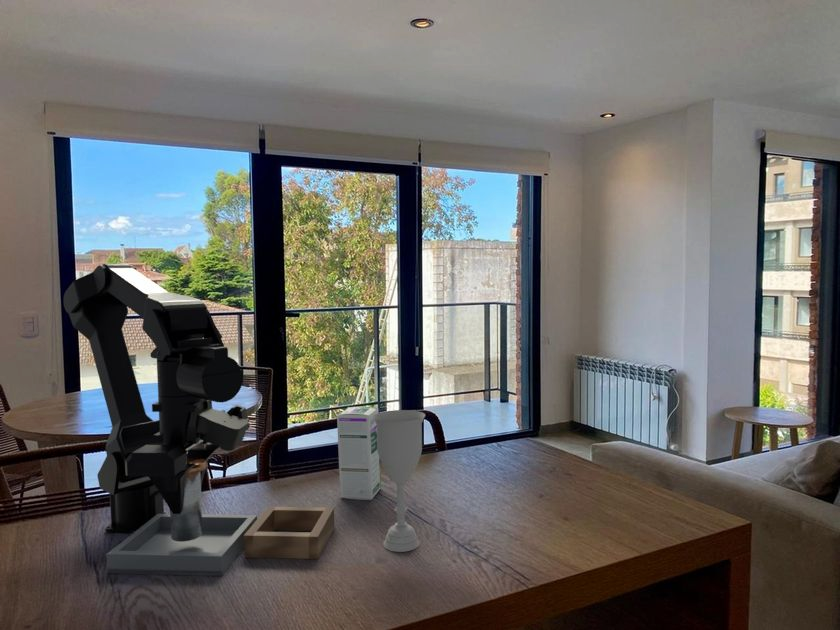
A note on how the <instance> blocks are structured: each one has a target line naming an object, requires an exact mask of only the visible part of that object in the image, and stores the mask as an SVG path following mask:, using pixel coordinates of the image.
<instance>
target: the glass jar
mask: <svg viewBox="0 0 840 630" xmlns="http://www.w3.org/2000/svg"><path fill="white" fill-rule="evenodd" d="M187 463H188V464H195V466H194V467H193V468H192V469H191V470H190V471H189V472H188V473H187V474H186V476H185V486H184V498H183V507H182V512H181V513H180V514H173V513H172V512H171V510H170V509H169V514H170V521H171V539H172V540H174V541H178V542H183V541H190V540H194V539H196V538H198V537H200V536H201V535H202V533H203V532H202V514H203V512H202V511H203V510H202V506H203V505H202V485H201V478H200V471H202V470H204V469H205V468H206V469H207V466H206V460H205V459H204V458H200V457H187ZM206 469H205V470H206Z"/></svg>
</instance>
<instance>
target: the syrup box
mask: <svg viewBox="0 0 840 630" xmlns="http://www.w3.org/2000/svg"><path fill="white" fill-rule="evenodd" d="M377 413H379V408H377V407H371V406H351V407H350V406H347V408H346V409H345V410H343V411H342V412H340V413H339V414H337V415H336V420H337V421H336V423H337V424H336V425H337V448H338V449H337V450H338V451H337V452H338V473H339V496H340V498H341V499H348V500H361V501H362V500H363V501H373V499H374V497H375V496H376V495H377V493H379V491H380V490H381V489H382V475H381V470H382V469H381V461H380V458H379V455H378V452H377V424H376V422H375V420H374V419H373V416H374V415H375V414H377Z"/></svg>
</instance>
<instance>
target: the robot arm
mask: <svg viewBox="0 0 840 630" xmlns="http://www.w3.org/2000/svg"><path fill="white" fill-rule="evenodd" d="M63 308H64V309H65V311H66V313H67V314H68V315H69V318H70V321H71V324H72V326H73V328H74V329H75V330H77V332H79V333H80V334H81V335H82V336H83V337H85V338H86V339H87V340H88V341H89V344H90V348H91V352H92V356H93V360H94V363H95V364H94V365H95V366H96V370H97V374H98V378H99V382H100V385H101V389H102V392H103V396H104V400H105V404H106V407H107V412H108V416H109V419H110V422H111V430H110V433H109V436H108V438H107V441H106V444H105V454H106V456H105V458H104V460H103V463H102V465H101V467H100V469H99V470H98V473H97V475H96V476H97V481H98V485H99V489H100V490H102V491H105V492H106V493H108V494H109V507H110V523H109V524H108V525H107V526H106V527H104V532H106V533H107V532H112V533H113V532H114V533H116V532H117V533H118V532H119V533H134V532H135V531H137V530H138V529H139V528H140V527H142V526H143V525H144V524H145V523H147V522H148V521H149V520H151V519H152V518H153V517H154V516H156V515H157V514H167V512H166V511H165V509H164V506H165V505H164V503H166V505H167V507H168V508H169V511H170V510H171V512H172V513H173V514H180V513H181V512H182V507H183V498H184V486H185V476H186V474H187V473H188V472H189V471H190V470H191V469H192V468H193V467H194V466H195V464H188V463H187V457H200V458H204V459H205V460H206V468H205V469H204V470H202V471H200V478H201V486H202V484H203V480H204V476H205V473H206V469H207V467H208V466H207V465H208V462H209V459H210V458H211V457H212V456H213V455H214V454H215V453H216V452H217V451H218V450H219V449H221V450H224V451H228V452H231V451H234V450H235V449H236V447H238V446H240V445H242V443H243V441H244V437H245V434H246V432H247V431H248V430H249V429H251V428H250V427H251V426H250V424H249V423H250V419H249V418H248V415H247V409H246V407H244V406H242V405H239V404H236V405H234V406H232V407H231V408H229V410H228V411H227V412H226V410H225V409H221V410H217V409H214V408H213V402H215V403H226V402H228V401H231V400H232V399H234V398H235V397H236V395H238V393H239V392H240V390H241V389H242V385H243V381H244V373H243V372H244V371H242V368H241V366H240V364H239V363H238V361H236V359H234V358H232V357H230V356H229V348H228V347H227V346H225V344H224V341H223V340H222V338H223V335H222V334H221V332H220V330H219V329H218V327H217V326H216V323H215V322H214V320H213V317H212V315H211V313H210V311H209V309H208V307H207V306H206V304H205V302H204V301H202V299H198V298H195V297H192V296H189V295H185V294H184V295H183V294H177V293H176V294H175V293H171V292H169V291H167V290H166V289H164V288H163V287H161V286H160V285H158V284H157V283H155V282H154V281H153V280H151V279H149V278H148V277H147V276H145V275H144V274H142V273H141V272H139V271H138V270H137V268H136V266H135V265H131V264H130V263H102V264H101V265H98V266H97V265H96V267H95V268H94V270H93V271H92V272H90V273H87V274H86V275H84V276H81V277H79V278H78V279H77V278H76V279H75V280H73V281H72V283H71V284H70V285H69V286H68V288H67V289H66V290H65V292H64V294H63ZM129 309H130V310H131V311H132V312H134V313H135V314H137V315H138V316H139V317H140V318H141V319H142V326H141V327H142V330H143V332H144V333H145V334H146V335H147V336H148V338H149V339H150V340H151V341H152V344H154V345H155V348H154V349H153V350H152V351H151V352H150V358H152V359H156V371H157V372H156V373H157V376H156V377H157V401H156V402H154V403H152V404H151V412H152V413H158V419H157V420H153V419H152V418H151V417H150V416H148V414H147V412H146V409H145V407H144V402H143V398H142V396H141V392H140V389H139V385H138V382H137V381H138V380H137V378H136V374H135V371H134V368H133V367H134V366H133V364H132V360H131V357H130V353H129V350H128V346H127V343H126V340H125V335H124V332H123V327H124V324H125V322H126V319H127V317H128V314H129Z"/></svg>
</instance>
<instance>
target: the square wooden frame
mask: <svg viewBox="0 0 840 630" xmlns="http://www.w3.org/2000/svg"><path fill="white" fill-rule="evenodd" d="M335 528H336V527H335V507H330V506H329V507H328V506H327V507H325V506H324V507H320V506H319V507H318V506H317V507H316V506H312V507H311V506H267V507H266V508H265V510H264V511H263V512H262V513H261V515H260V516H259V517H257V520H256V522H255V523H254V524H253V525H252V526H251V527H250V529H249V530H248V531H247V532H246V533H245V535H244V549H243V553H244V558H251V559H252V558H258V559H261V558H262V559H263V558H265V559H306V560H309V559H310V560H316V559H317V560H319V558H320V557H321V555H322V552H323V551H324V549H325V547H326V545H327V543H328V541H329V540H330V537H331V535H332V533H333V531H334V529H335ZM295 531H296V532H295ZM297 531H299V532H297ZM300 531H301V532H300ZM302 531H304V532H302ZM305 531H308V532H305ZM309 531H311V532H309Z"/></svg>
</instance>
